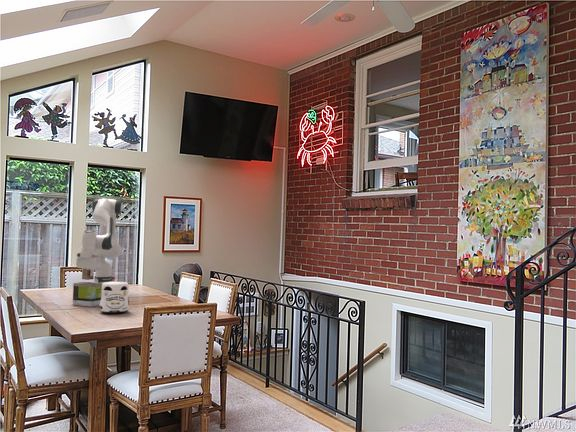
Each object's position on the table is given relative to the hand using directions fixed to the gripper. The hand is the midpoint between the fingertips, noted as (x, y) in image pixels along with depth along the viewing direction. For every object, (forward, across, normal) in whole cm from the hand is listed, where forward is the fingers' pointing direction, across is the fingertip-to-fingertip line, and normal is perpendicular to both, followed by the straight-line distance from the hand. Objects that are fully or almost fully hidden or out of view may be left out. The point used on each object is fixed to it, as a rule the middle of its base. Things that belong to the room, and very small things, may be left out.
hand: (87, 275), depth 324 cm
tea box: (+20, 0, 0) cm, 20 cm away
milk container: (+20, -33, +5) cm, 39 cm away
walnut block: (+2, 0, 0) cm, 2 cm away
